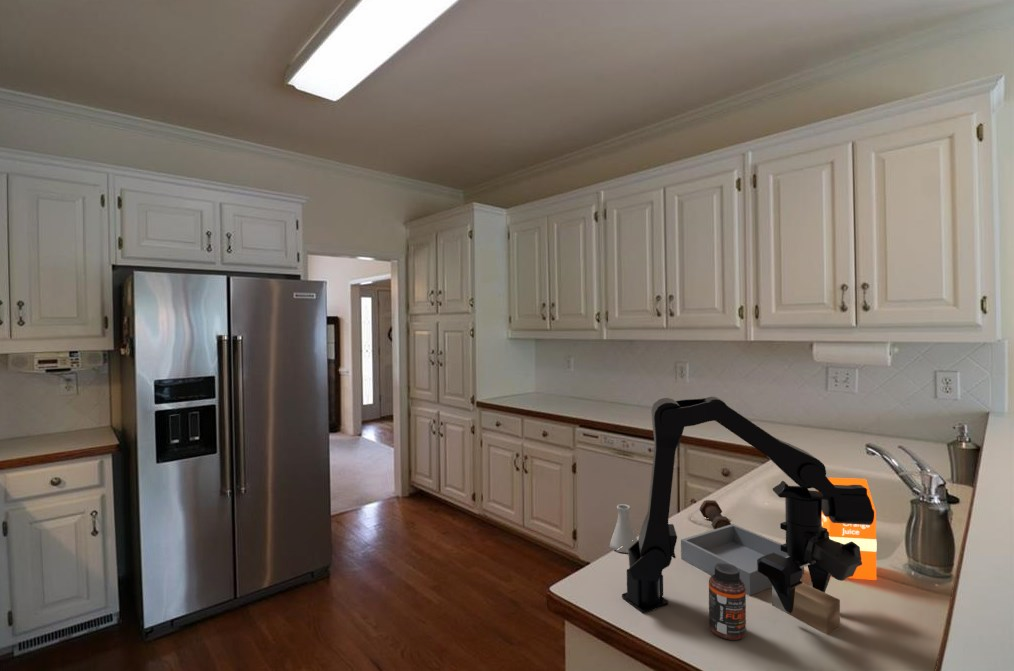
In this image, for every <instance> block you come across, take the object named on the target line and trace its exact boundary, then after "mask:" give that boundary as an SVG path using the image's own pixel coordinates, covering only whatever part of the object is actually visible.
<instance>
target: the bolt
mask: <svg viewBox="0 0 1014 671" xmlns="http://www.w3.org/2000/svg"><path fill="white" fill-rule="evenodd" d="M699 512H700V513H701V515H702V517H703V518H704V517H706V518H709V519H708V520H710V522H711V527H712V528H713V530H714V529H718V528H721V527H724V526H727V525H731V524H732V523H731V521H730V520H729V518H728V517H727V516H723V515H722V513H723V511H722V509H721V507H720V505H719V504H718V502H717V501H716V500H712V499H710V500H709V499H706V500H704V501H703V502H702V503H701V505H700V507H699Z"/></svg>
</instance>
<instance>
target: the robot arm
mask: <svg viewBox="0 0 1014 671" xmlns="http://www.w3.org/2000/svg"><path fill="white" fill-rule="evenodd" d="M708 422H716V423H718V424H719V425H721V426H722V427H724V428H725V429H726V430H728V431H729V432H731V433H733V434H734V435H735V436H737V437H738V438H740V439H741V440H742V441H744V442H746V443H747V444H749V445H750V446H751V447H753V448H755V449H757V451H759V452H760V453H762V454H763V455H765V456H766V457H767V458H769V459H770V461H771V462H772V463H773V464H774V465H775V466H776V467H778V469H780V471H781V472H783V473H784V474H785V475H786V476H787V477H789V479H791V480H792V482H794V483H795V484H797V485H789V484H787V482H786V481H784V480H782V481H780V483H779V484H777V485H775V486H774V487H772V491H773V493H775V495H776V496H777V497H778V498H779V499H781V498H783V499H785V500H784V501H785V502H784V503H785V505H784V506H785V521H783V522H780V529H781V530H783V531H785V542H784V543H781V544H782V545H781V551H783V552H786V553H788V556H790V557H788V558H785V557H783V556H780V555H778V554H776V553H771V554H768V555H766V556H763V557H761V558H759V559H758V560H757V570H758V572H759V573H762V574H763V575H764V576H766V577H768V579H769V581H770V582H771V584H772V585H773V587H774V589H775V591H776V593H777V595H778V597H779V599H780V601H781V603H782V605H783V607H784V609H785V610H786V611H787V612H789V613H792V611H793V605H794V595H795V587H797V586H798V585H800V584H802V583H804V582H803V581H801V580H802V578H803V574H802V569H801V568H802V567H804V568H805V567H807V569H808V573H809V578H810V581H811V584H812V586H811V587H813V588H815V589H818V590H820V591H822V592H824V593H826V591H827V587H828V585H829V582H830V580H831V578H834V579H835V580H836V581H837V580H838V581H840V582H841V581H842V582H843V581H845V580H846V579H849V578H848V577H852V576H853V575H854V573H855V571H856V569H857V567H858V566H860V565H862V561H861V559H862V558H861V553H860V547H859V546H858V545H857V544H855V543H854V542H852V541H851V542H849V543H846V544H842V543H839V542H836V541H834V540H831V539H830V538H829V532H828V531H827V529H826V528H823V527H822V512H823V514H824V516H826V517H829V519H830V520H831V522H832V523H840V524H857V525H871V524H872V523H873V521H874V510H873V509H872V504H871V501H870V499H869V497H868V495H867V489H866V488H865V487H863V486H862V485H834V484H832V483H831V482H830V480H829V479H828V478H829V477H827V469H826V465H825V464H824V463H823V462H822V461H820V459H818V458H816V457H815V456H814V455H812V454H811V453H809V452H808V451H806V450H804V449H801V448H800V447H798V446H795V445H793V444H791V443H789V442H786V441H784V440H782V439H779V438H777V437H775V436H773V435H771V434H770V433H769V432H767V431H766V430H764V429H763V428H761V427H760V426H758V425H757V424H755V423H754V422H752V421H751V420H750V419H749V418H746V417H744V416H743V415H742V414H740V413H739V412H738V411H736V410H734V409H733V408H732V407H730V406H729V405H727V404H726V402H725V401H724V400H722V399H720V398H719V397H716V396H708V397H703V398H692V399H690V398H689V399H678V400H674V399H673V398H670V397H663V398H659V399H658V400H657V401H655V402H654V403H653V404H652V407H651V423H652V424H651V425H652V432H653V434H652V435H653V441H654V446H653V447H654V448H653V458H652V468H651V476H650V477H651V478H650V486H649V487H650V488H649V496H648V506H647V513H646V516H645V517H644V520H643V523H642V525H641V528H640V531H639V536H638V539H637V540H638V541H637V542H635V543H634V544H633V545H632V546H631V547H630V548H629V549H628V553H627V554H628V566H629V568H627V569H626V592H624V593H621V598H622V599H623V600H625V601H627V602H628V603H630V605H632V606H633V607H634V608H635V609H637V610H638V611H640V612H642V613H645V614H646V613H648V612H650V611H653V610H656V609H659V608H661V607H664V606H667V605H669V600H667V599H666V598H665V597H664V575H663V570H665V569H666V568H668V567H669V566H670V565H671V562H672V559H676V553H675V547H676V544H677V540H678V535H677V530H676V528H675V525H674V524H673V523H670V524H669V515H670V507H671V506H670V504H671V497H672V487H673V478H674V468H675V467H674V466H675V458H676V451H677V449H678V446H679V443H680V442H681V439H682V436H683V432H684V429H685V427H693V426H697V425H700V424H701V425H702V424H704V423H708ZM769 459H768V460H769ZM810 489H811V490H810ZM812 489H815V490H812ZM817 490H818V491H817ZM831 576H832V577H831Z"/></svg>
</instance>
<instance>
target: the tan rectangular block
mask: <svg viewBox="0 0 1014 671" xmlns="http://www.w3.org/2000/svg"><path fill="white" fill-rule="evenodd" d="M840 601H841V600H840V599H839V598H837V597H835V596H832V595H831V594H828V593H826V592H825V593H824V592H822V591H820V590H818V589H815V588H813V586H810V585H808V584H807V583H805V582H803V583H802V584H800V585H798V586H797V587H795V595H794V605H793V611H792V613H789V612H787V611H786V610H785V609H784V607H783V605H782V603H781V601H780V599H779V597H778V595H777V593H776V591H775V589H774V587H773V585H772V587H771V605H772V607H774V608H776V609H777V610H780V611H781V612H784V613H785V614H787V615H789V616H791V617H793V618H795V619H796V620H798V621H800V622H802V623H804V624H806V625H808V626H809V627H812V628H813V629H814V630H817V631H819V632H821V633H823V634H825V635H826V636H827V635H829V634H831V633H832V632H835V631H837V630H838V629H840V628H841V607H840V606H841V602H840Z"/></svg>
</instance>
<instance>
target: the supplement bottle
mask: <svg viewBox="0 0 1014 671" xmlns="http://www.w3.org/2000/svg"><path fill="white" fill-rule="evenodd" d="M714 572H715V574H714V575H710V577H709V580H708V626H709V629H710V631H712V633H714V634H715V635H716V636H718V637H719V638H722V639H725V640H729V641H739V640H741V639H743V638H745V636H746V630H747V627H746V626H747V625H746V624H747V615H746V614H747V612H746V608H747V605H746V604H747V602H746V601H747V599H746V598H747V597H746V595H747V594H746V589H745V584H744V583H743V581H742V580H741V579H740V575H739V569H738V568H737V567H736V566H734V565H732V564H728V563H718V564H716V565H715V571H714Z"/></svg>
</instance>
